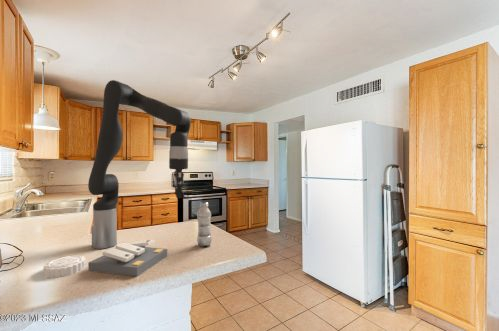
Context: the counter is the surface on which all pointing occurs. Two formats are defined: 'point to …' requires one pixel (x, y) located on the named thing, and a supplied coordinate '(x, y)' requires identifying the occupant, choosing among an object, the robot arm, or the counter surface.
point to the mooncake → (64, 266)
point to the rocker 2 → (143, 242)
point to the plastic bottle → (204, 225)
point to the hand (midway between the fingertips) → (178, 196)
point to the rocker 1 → (118, 254)
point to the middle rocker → (130, 248)
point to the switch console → (128, 262)
